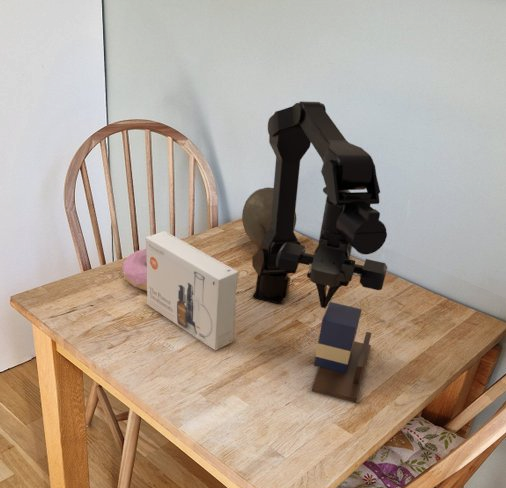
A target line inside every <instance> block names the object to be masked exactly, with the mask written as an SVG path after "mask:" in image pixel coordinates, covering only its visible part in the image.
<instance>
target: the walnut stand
mask: <svg viewBox="0 0 506 488" xmlns="http://www.w3.org/2000/svg"><path fill="white" fill-rule="evenodd" d="M371 336H372V332H369V331H366V332H365V335H364V339H363V342H359V341H356V340H355V341H354V346H353V350H352V354H351V358H350V361H349V364H348V367H347V371H346V373H342V372H338V371H334V370H330V369H327V368H323V367H319V368H318V371H317V373H316V376H315V379H314V382H313V384H312V387H311V392H313V393H317V394H320V395H325V396H327V397H332V398H336V399H339V400H344V401H347V402H351V403H355V404H357V401H358V397H359V394H360V389H361V386H362V383H363V382H362V381H363V378H364V374H365V369H366V365H367V362H368V357H369V354H370V351H371V346H372V345H371V344H370V340H371Z"/></svg>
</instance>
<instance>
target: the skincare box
mask: <svg viewBox="0 0 506 488" xmlns="http://www.w3.org/2000/svg"><path fill="white" fill-rule="evenodd" d="M145 249H146V256H147V291H146V293H147V294H146V303H147V306H148V307H150V308H151V309H153V310H154V311H156V312H157V313H158V314H160V315H162V316H163V317H165V318H166V319H168V320H169V321H171V322H172V323H173V324H174V325H176V326H178V327H179V328H181V329H182V330H184V331H186V332H187V333H188V334H190V335H191V336H193V337H194V338H196V339H197V340H198V341H200V342H201V343H203V344H204V345H206V346H207V347H209V348H210V349H212V350H213V351H218V350H219V349H222V348H224V347H225V346H227V345H229V344H231V343H233V342H234V332H235V331H234V330H235V317H236V306H237V305H236V304H237V289H238V276H239V271H237V270H236V269H235V268H233V267H230V266H229V265H227V264H225V263H223V262H222V261H220V260H218V259H216V258H214V257H213V256H211V255H209V254H207V253H206V252H203V251H202V250H200V249H198V248H197V247H194V246H193V245H191V244H189V243H187V242H186V241H184V240H183V239H181V238H179V237H176V236H174V235H173V234H171V233H170V232H168V231H166V230H163V231H160V232H158V233H157V232H156V233H154V234H151V235H149V236H146V237H145Z"/></svg>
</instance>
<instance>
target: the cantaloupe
mask: <svg viewBox="0 0 506 488" xmlns="http://www.w3.org/2000/svg"><path fill="white" fill-rule="evenodd" d="M273 190H274V187H269V186H268V187H263V188H259V189H257V190H255V191H253V192H252V193H251V194H250V195H249V196H248V198H247V199H246V201H245V203H244V205H243V208H242V215H241V216H242V217H241V219H242V226H243V229H244V232H245V234H246V236H247V237H248V239H249V240H250V241H251V242H252V243H253V244H254V245H255V246H257V247H258V248H259V249H260V248H261V241H262V238H263V236H264V235H265V234H266V232H267V231H268V230H269V228H270V226H271V214H272V202H273ZM296 224H297V213H296V211H295V219H294V230H293V231H295V228H296Z"/></svg>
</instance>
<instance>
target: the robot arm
mask: <svg viewBox="0 0 506 488" xmlns="http://www.w3.org/2000/svg"><path fill="white" fill-rule="evenodd" d="M267 133H268V142H269V145H270V147H271V149H272V152H273V153H274V155H275V166H274V167H275V168H274V177H273V178H274V179H273V188H274V190H273V202H272V214H271V226H270V228H269V230H268V231H267V232H266V234H265V235H264V236H263V238H262V241H261V248H260V247H259V249H258V250H257V251H256V253H254V254H253V256H251V257H252V258H251V259H252V261H251V263H252V265H251V266H252V268H253V270H254V271H255V272H256V275H257V276H256V284H255V291H254V292H253V295H252V298H254V299H257V300H261V301H266V302H269V303H274V304H278V305H281V304H282V303H283V302H284V300H285V299H286V298H287V296H288V295H289V293H290V292H289V291H290V284H291V277H290V276H289V274H293V275H294V274H296V273H297V270H298V267H299V265H300V264H301V265H306V266H308V271H307V274H306V277H307V278H308V279H310V282H311V283H313V284H314V285H315V287H316V289H317V294H318V299H319V304H320V308H321V309H327V308H328V305H329V303H330V302H331V300H332V298H333V296H334V295H335V294H336V292H337V291H338V290H339V289H340V288H341V287H348V286H349V284H350V282H351V281H352V279H353V276H356V277H359V283H360V285H361V286H362V287H363V288H366V289H369V290H374V291H375V290H376V291H382V290H383V287H384V282H385V279H386V274H387V270H388V266H387V264H386V262H383V261H377V260H373V259H368V258H365V261H364V263H363V265H362V264H357V263H356V260H354V259H351V255H352V250H353V249H354V250H355V251H356V252H357V253H359V254H360V255H371V254H374V253H376V252H377V251H379V250H380V249H381V248H382V247H383V245H384V244H385V243H386V240H387V237H388V233H387V227H386V225H385V223H384V222H382V221H381V220H380V216H381V212H380V211H379V210H377V209H376V208H373V207H372V206H371V205H379V204H380V193H381V189H380V184H379V181H378V177H377V171H376V169H377V168H376V165H375V162H374V159H373V158H372V155H370V153H368V152H367V151H366V150H365V149H364V148H363V147H361V146H359V145H355V144H353V143H351V142H349V141H348V140H347V139H346V138H345V136H344V135H343V133H342V132H341V131H340V129H339V128H338V126H337V125H336V124H335V123H334V121H333V120H332V119H331V117H330V116H329V114H328V113H327V109H326V106H325V104H324V103H322V102H320V101H299V102H295V103H294V104H293V105H292V106H289V107H285V108H282V109H279V110H276V111H274V114H273V115H271V116H270V117H269V118H268V121H267ZM311 145H312V146H313V148H314V149H315V151H316V153H317V154H318V156H319V157H320V159H321V161H322V167H321V170H320V173H321V176H322V178H323V182H324V184H325V186H324V187H323V188H322V192H323V194H325V195H326V198H325V205H324V209H323V210H324V212H323V216H322V222H321V226H320V233H319V238H318V245H317V246H316V248H315V251H313V253H308V252H306V249H307V248H306V245H305V244H302V243H301V242H300V241H299V239H298V237H297V236H296V234H295V232H294V231H295V229H294V219H295V212H296V210H297V209H296V207H297V199H298V198H297V197H298V188H299V177H300V169H301V168H300V167H301V161H302V159H303V157H304V156H305V155H306V153H307V152H308V151H309V149H310V148H311ZM362 190H366V191H362ZM352 191H354V192H352ZM355 191H356V192H355ZM357 191H358V192H357ZM361 191H362V192H361ZM293 230H294V231H293ZM328 287H329V288H328Z"/></svg>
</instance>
